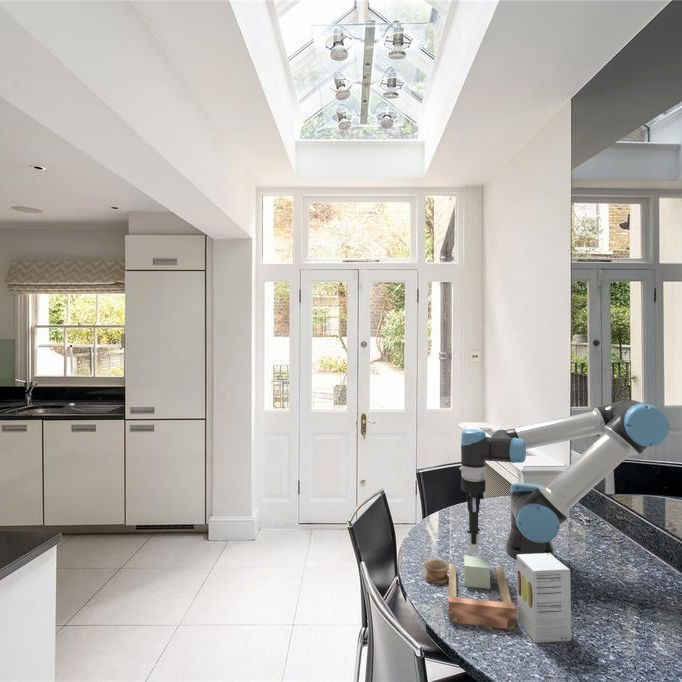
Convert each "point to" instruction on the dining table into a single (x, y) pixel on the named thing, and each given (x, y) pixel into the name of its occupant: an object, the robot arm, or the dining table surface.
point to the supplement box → (543, 597)
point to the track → (482, 605)
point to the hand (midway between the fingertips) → (473, 552)
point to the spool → (436, 571)
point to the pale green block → (476, 572)
